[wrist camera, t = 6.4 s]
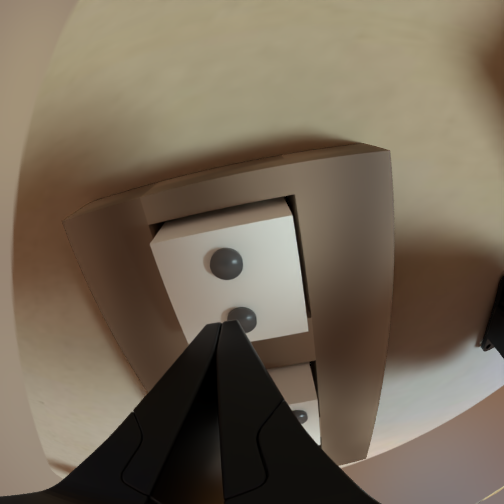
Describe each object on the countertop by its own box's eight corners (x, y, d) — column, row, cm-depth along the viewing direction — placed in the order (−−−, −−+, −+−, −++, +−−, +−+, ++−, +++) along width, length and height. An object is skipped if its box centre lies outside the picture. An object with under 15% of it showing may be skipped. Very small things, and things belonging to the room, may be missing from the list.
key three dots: (305, 346, 14) (318, 403, 11) (311, 398, 16) (321, 447, 13) (217, 361, 14) (211, 417, 11) (237, 409, 16) (236, 459, 13)
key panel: (363, 143, 11) (389, 150, 9) (359, 434, 20) (366, 458, 18) (90, 202, 12) (61, 221, 10) (217, 456, 21) (216, 480, 19)
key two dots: (280, 189, 12) (293, 217, 8) (295, 284, 14) (309, 334, 10) (172, 212, 12) (147, 246, 9) (201, 301, 14) (190, 353, 11)
